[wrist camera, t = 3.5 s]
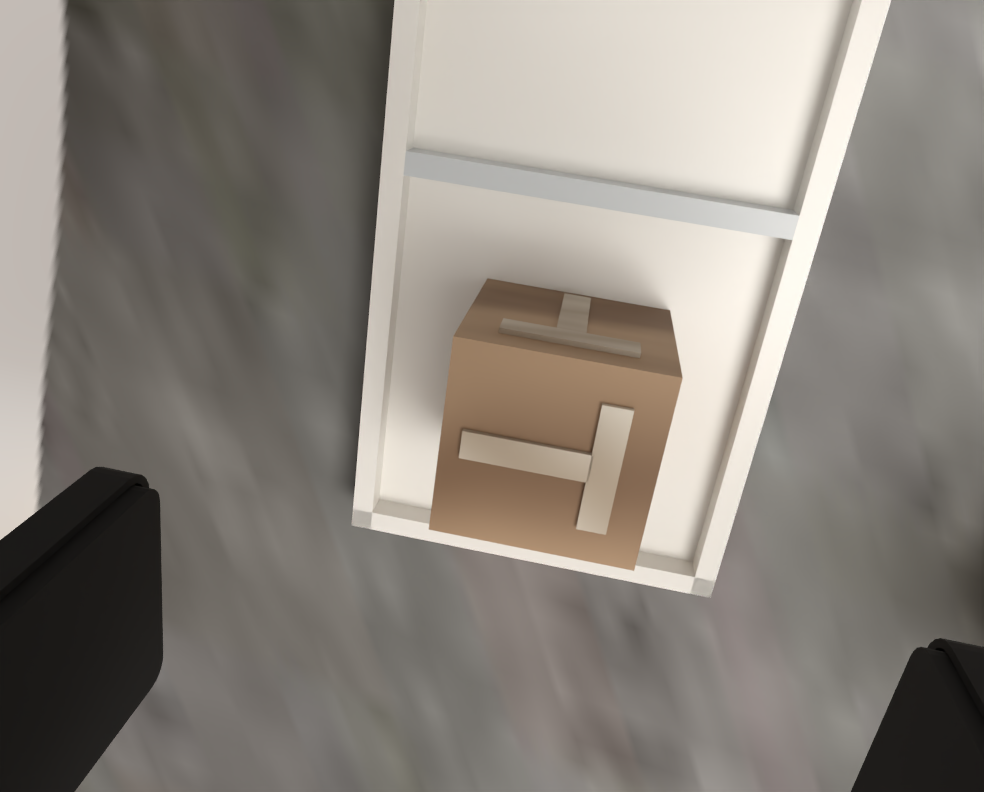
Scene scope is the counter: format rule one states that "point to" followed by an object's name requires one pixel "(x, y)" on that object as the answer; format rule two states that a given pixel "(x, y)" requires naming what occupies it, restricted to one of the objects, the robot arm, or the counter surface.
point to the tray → (606, 220)
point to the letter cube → (555, 422)
